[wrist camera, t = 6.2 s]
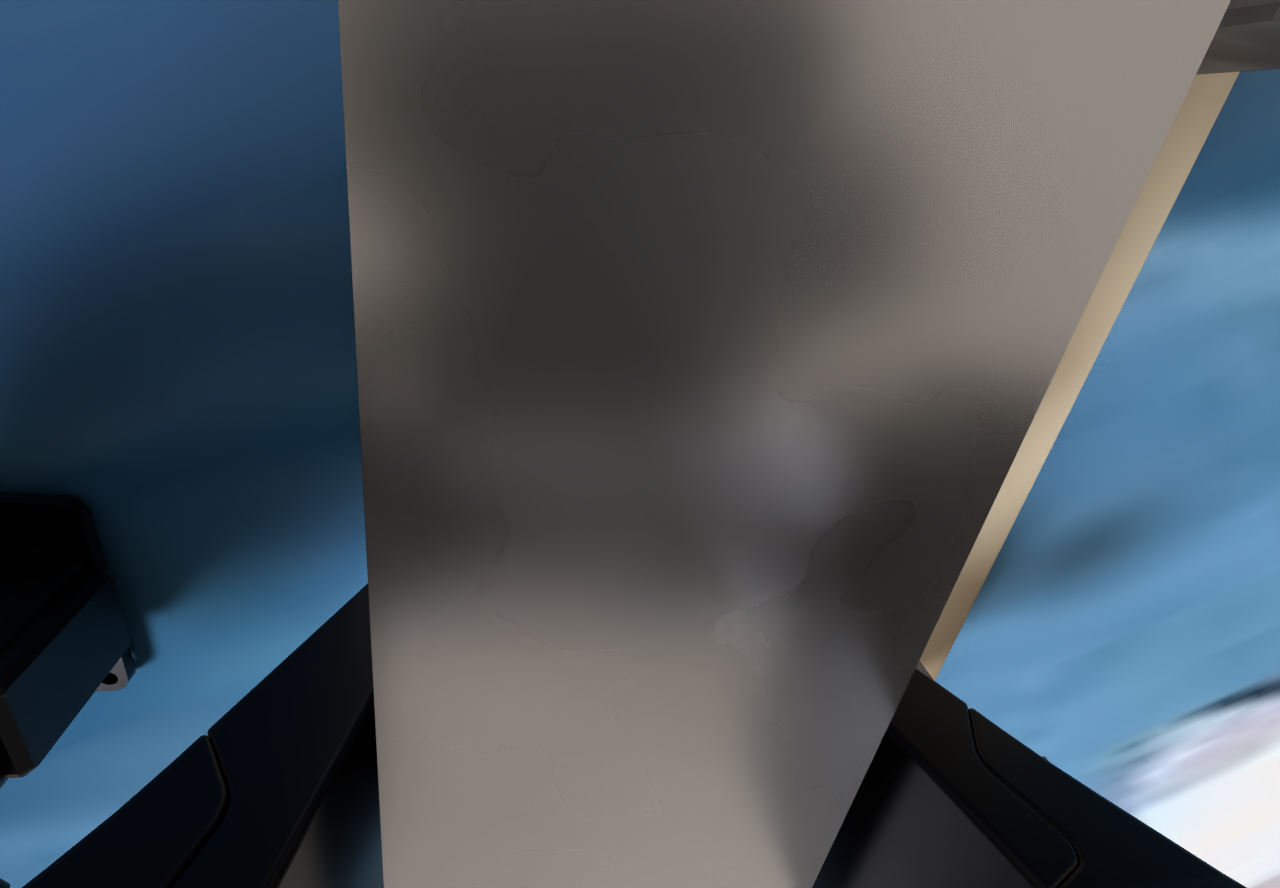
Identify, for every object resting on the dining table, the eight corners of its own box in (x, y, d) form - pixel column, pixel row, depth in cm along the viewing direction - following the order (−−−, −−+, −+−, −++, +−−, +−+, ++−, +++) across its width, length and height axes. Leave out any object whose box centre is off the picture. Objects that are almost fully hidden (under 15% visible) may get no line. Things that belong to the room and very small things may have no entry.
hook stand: (719, 691, 23) (816, 984, 15) (979, -200, 12) (1782, -775, 4) (907, 687, 25) (1082, 950, 17) (1283, -101, 14) (2262, -389, 6)
